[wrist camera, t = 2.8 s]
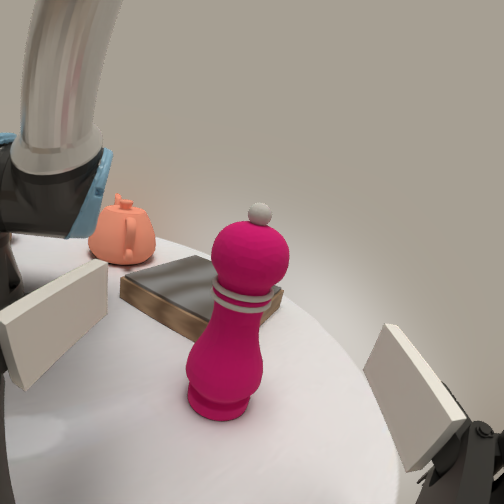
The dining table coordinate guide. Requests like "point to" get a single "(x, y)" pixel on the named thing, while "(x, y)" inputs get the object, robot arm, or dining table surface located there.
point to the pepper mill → (236, 316)
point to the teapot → (123, 234)
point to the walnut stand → (179, 294)
